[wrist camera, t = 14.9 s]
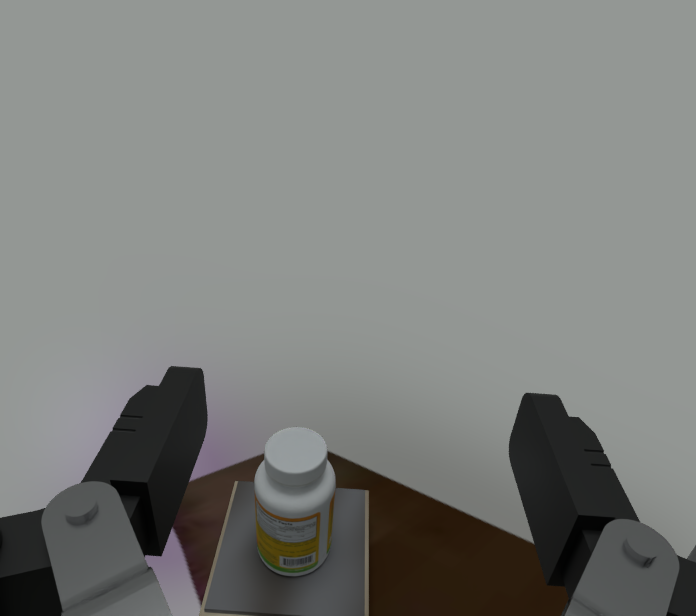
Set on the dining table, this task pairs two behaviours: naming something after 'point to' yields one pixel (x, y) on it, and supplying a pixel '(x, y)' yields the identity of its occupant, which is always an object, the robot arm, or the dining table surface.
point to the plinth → (290, 591)
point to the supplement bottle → (294, 502)
